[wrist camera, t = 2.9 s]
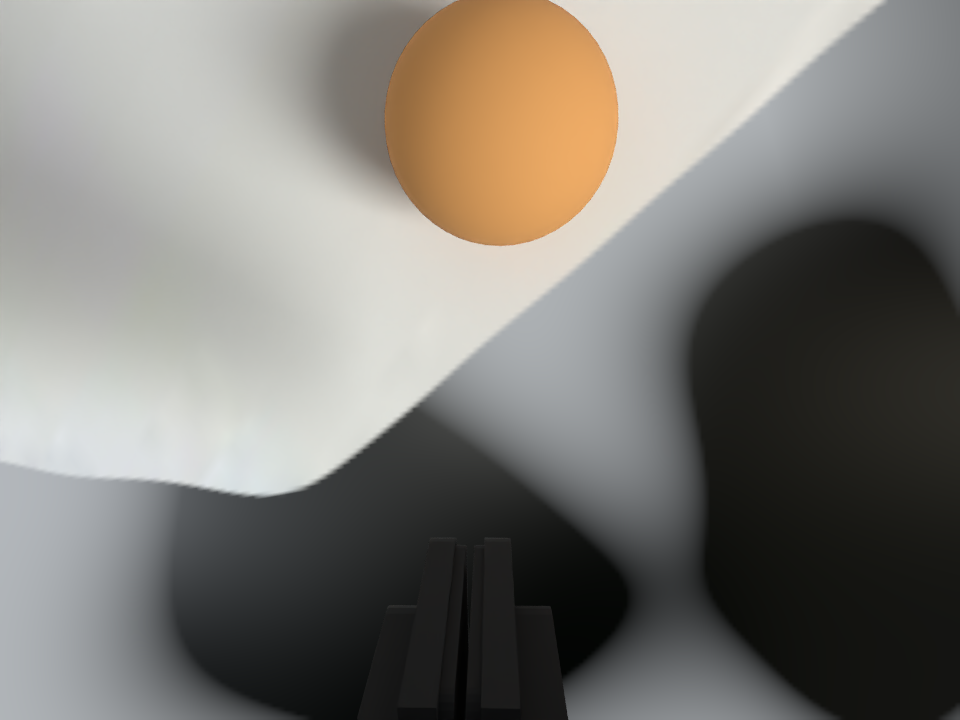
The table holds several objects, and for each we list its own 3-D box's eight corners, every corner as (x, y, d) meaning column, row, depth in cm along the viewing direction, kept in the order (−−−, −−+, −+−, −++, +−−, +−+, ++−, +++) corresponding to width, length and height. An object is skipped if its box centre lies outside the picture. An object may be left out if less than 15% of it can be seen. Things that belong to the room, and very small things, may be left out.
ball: (601, 33, 16) (656, -67, 10) (592, 239, 18) (635, 253, 12) (402, 39, 16) (346, -56, 10) (411, 241, 18) (366, 255, 12)
